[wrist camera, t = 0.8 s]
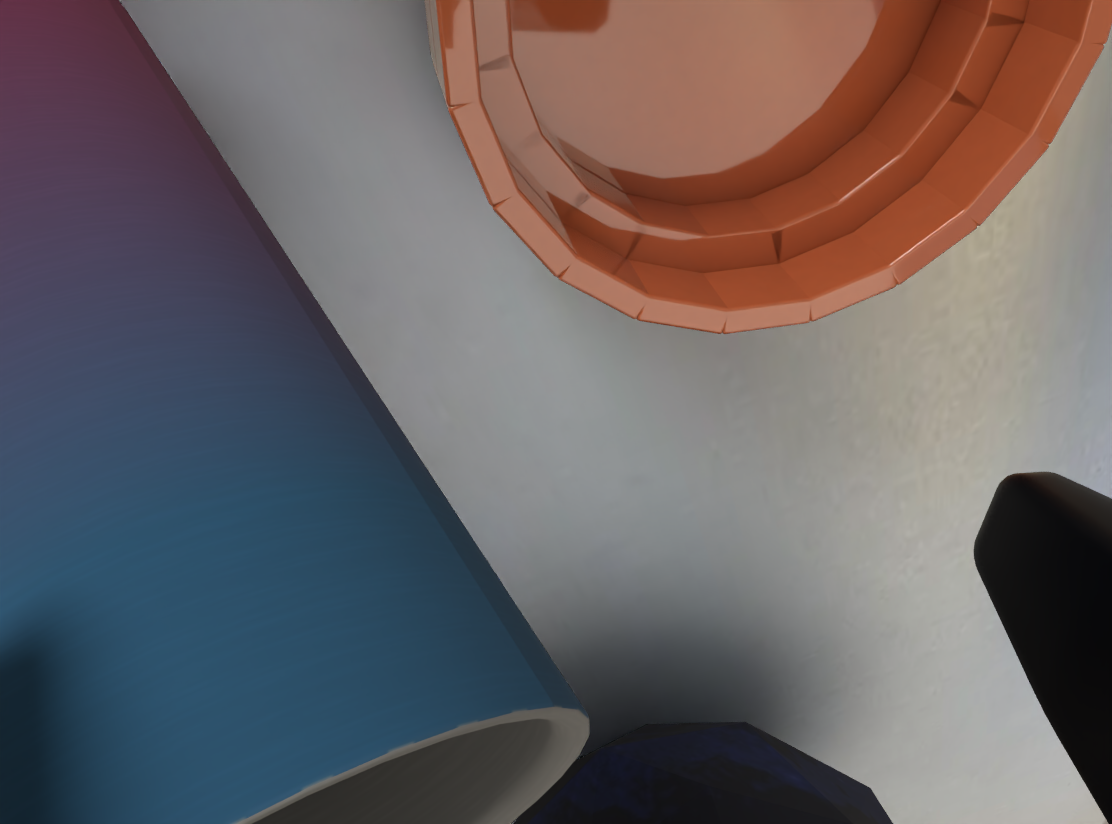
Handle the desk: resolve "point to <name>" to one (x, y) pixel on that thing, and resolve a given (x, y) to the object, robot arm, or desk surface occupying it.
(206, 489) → the cup
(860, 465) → the desk surface
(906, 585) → the desk surface
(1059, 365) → the desk surface
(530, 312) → the desk surface
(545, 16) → the bowl
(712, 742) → the decorative orb
